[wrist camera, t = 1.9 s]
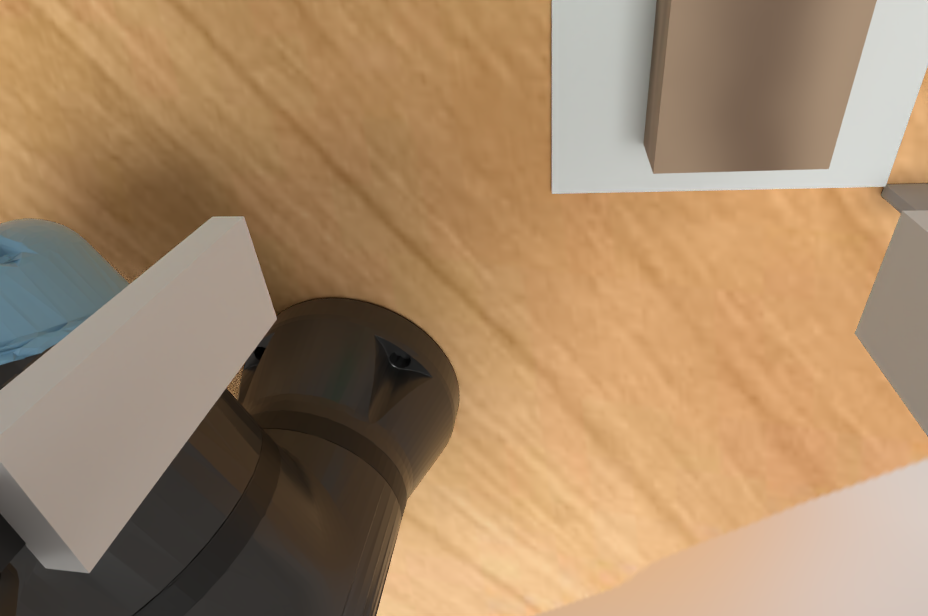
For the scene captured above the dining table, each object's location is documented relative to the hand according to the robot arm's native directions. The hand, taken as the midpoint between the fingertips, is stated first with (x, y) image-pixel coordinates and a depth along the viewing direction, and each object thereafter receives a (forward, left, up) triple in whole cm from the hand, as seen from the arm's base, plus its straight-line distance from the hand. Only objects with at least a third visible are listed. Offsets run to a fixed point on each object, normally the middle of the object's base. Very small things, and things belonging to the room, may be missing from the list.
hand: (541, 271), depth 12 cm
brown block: (+8, 0, -18) cm, 20 cm away
